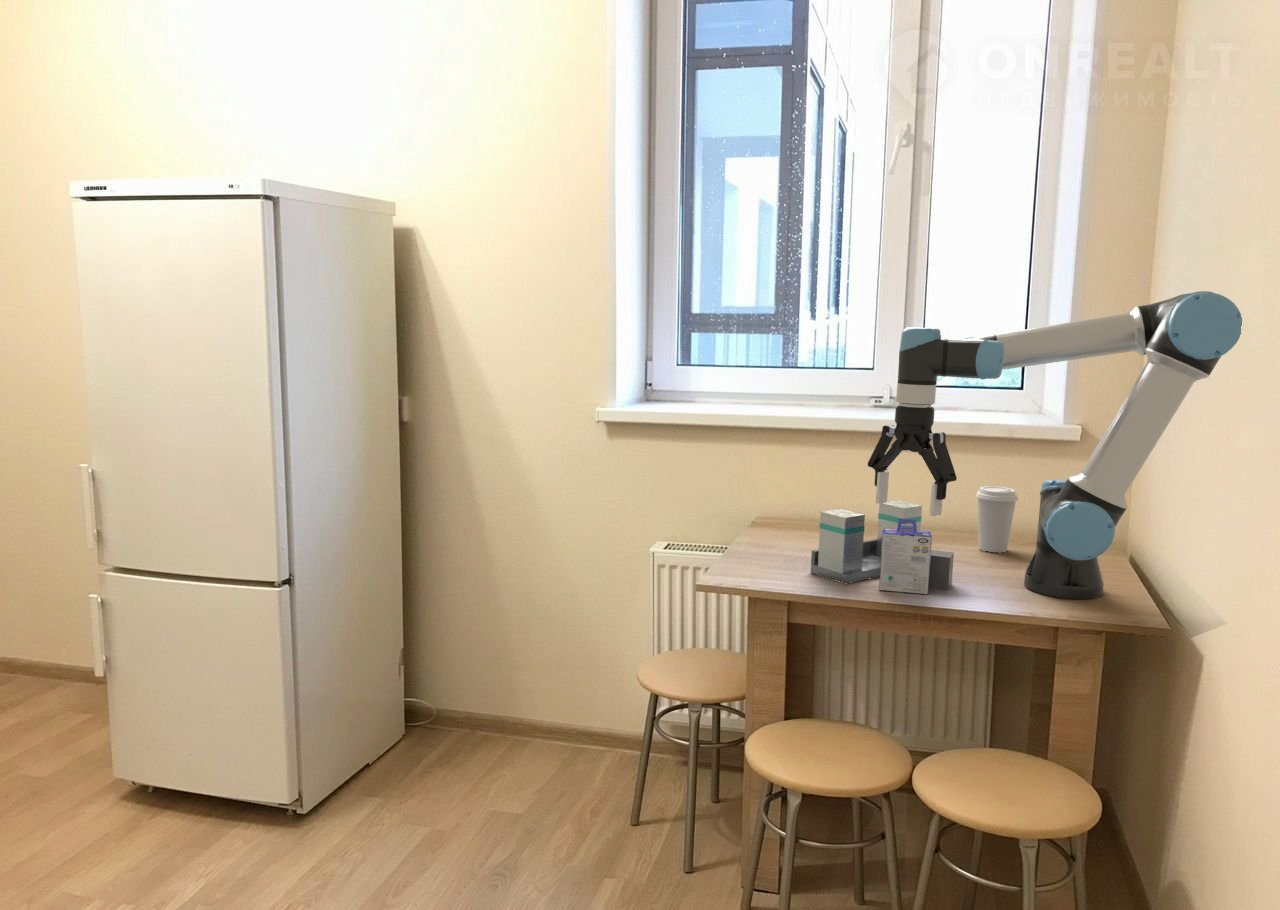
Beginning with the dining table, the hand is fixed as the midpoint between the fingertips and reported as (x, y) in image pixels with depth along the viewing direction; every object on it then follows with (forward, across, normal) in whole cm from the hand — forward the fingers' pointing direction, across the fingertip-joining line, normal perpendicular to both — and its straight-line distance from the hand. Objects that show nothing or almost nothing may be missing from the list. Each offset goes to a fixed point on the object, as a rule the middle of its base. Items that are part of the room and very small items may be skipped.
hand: (907, 508), depth 194 cm
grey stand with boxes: (+17, +14, -5) cm, 22 cm away
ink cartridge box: (+17, 0, 0) cm, 17 cm away
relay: (+17, -2, -8) cm, 19 cm away
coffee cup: (+17, +10, -46) cm, 50 cm away
